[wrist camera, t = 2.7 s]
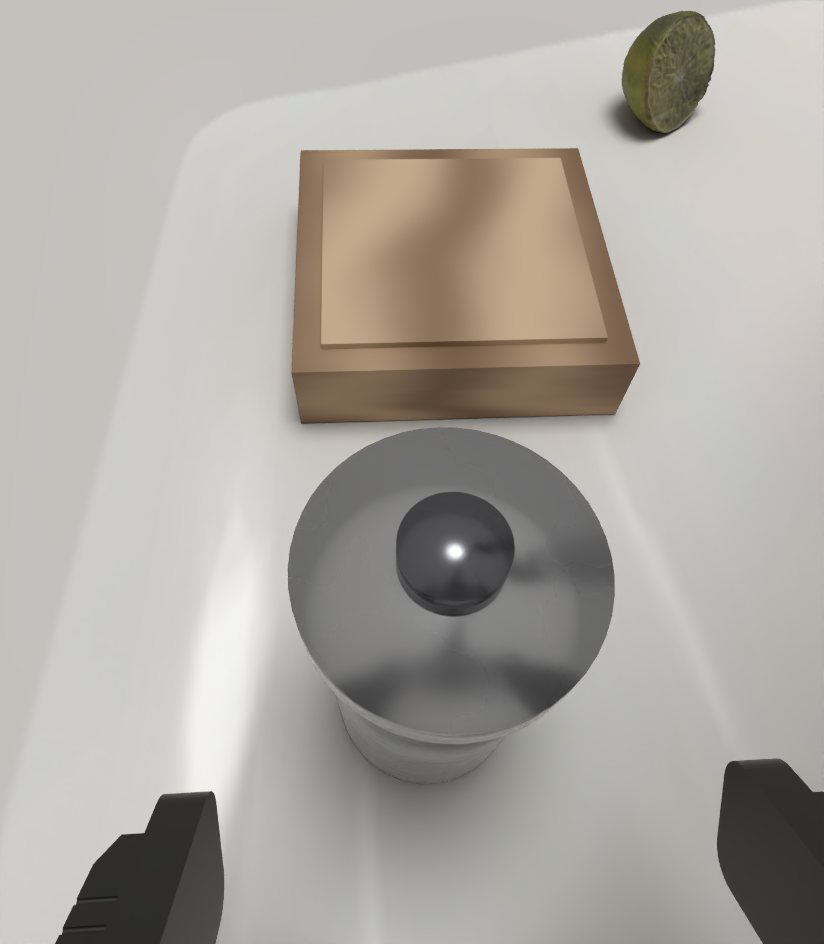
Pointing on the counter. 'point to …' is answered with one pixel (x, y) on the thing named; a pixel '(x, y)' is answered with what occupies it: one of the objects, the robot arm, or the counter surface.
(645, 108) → the lime
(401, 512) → the grey lidded canister
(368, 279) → the stand
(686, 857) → the counter surface
